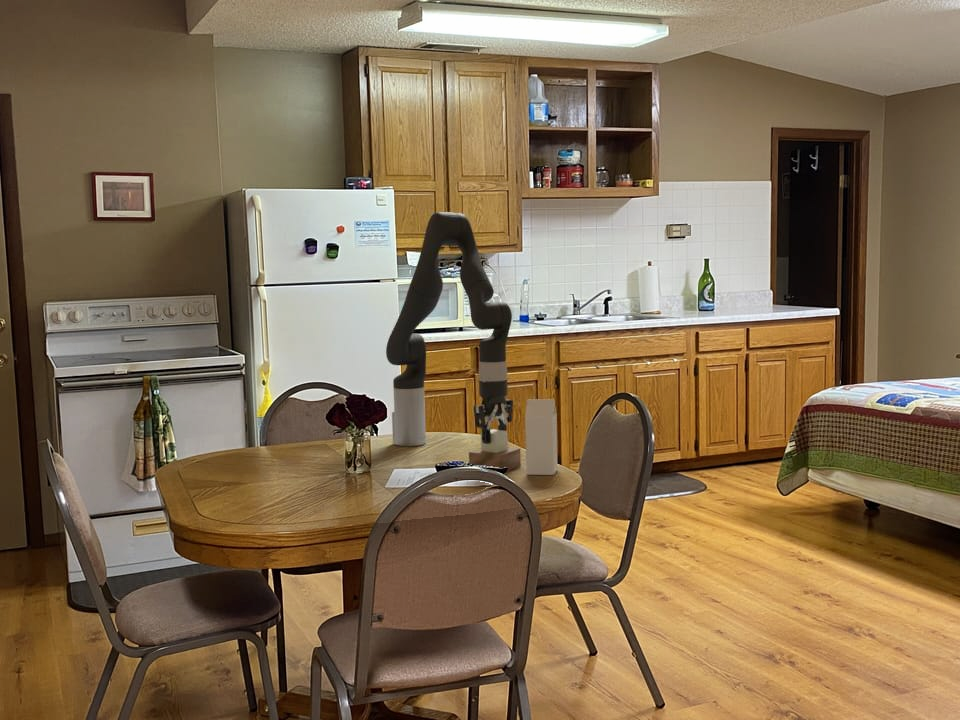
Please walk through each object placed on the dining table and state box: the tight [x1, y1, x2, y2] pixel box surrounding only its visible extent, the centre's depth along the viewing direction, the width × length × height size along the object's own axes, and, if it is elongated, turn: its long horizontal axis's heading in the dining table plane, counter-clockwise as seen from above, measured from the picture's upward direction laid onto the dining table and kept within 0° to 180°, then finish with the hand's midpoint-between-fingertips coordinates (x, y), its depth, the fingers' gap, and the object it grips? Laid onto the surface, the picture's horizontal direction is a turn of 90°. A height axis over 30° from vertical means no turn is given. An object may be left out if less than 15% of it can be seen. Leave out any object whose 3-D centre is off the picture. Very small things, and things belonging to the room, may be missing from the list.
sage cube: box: [480, 428, 509, 453], centre depth 265 cm, size 5×5×5 cm
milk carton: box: [524, 398, 558, 476], centre depth 257 cm, size 7×7×19 cm
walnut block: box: [468, 446, 522, 472], centre depth 266 cm, size 10×10×5 cm
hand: (494, 441), depth 265 cm, fingers open, 6 cm apart
